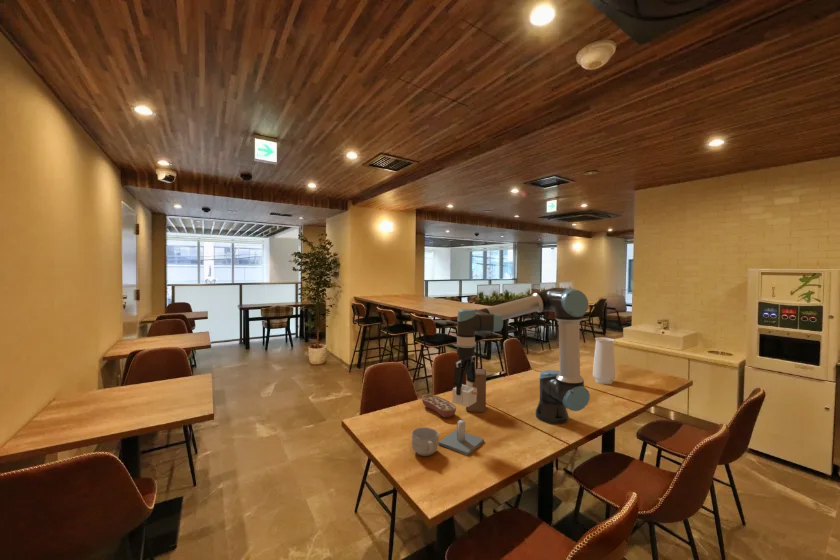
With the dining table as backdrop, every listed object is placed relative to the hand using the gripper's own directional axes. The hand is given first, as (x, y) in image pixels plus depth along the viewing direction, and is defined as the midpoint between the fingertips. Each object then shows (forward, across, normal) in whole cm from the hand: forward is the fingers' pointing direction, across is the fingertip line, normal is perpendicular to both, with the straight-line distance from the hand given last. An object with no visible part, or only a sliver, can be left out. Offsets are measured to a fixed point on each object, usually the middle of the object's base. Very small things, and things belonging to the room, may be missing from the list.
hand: (464, 399), depth 148 cm
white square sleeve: (+1, 0, 0) cm, 1 cm away
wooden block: (+18, -34, -12) cm, 41 cm away
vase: (+16, -124, +32) cm, 129 cm away
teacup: (+19, +18, -7) cm, 27 cm away
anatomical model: (+19, -19, -26) cm, 37 cm away
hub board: (+18, +2, 0) cm, 18 cm away
